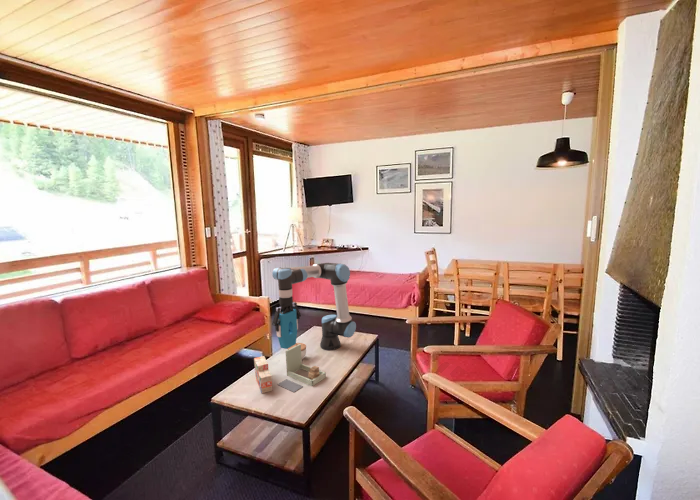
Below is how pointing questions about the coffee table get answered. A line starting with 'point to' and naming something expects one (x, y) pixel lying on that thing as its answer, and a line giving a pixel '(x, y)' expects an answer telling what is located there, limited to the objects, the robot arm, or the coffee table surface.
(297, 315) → the robot arm
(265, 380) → the stack of blocks
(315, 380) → the frame
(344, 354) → the coffee table surface
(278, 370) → the coffee table surface
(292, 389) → the felt mat
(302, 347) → the lidded bowl
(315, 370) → the offcut stack
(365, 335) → the coffee table surface
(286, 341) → the block
